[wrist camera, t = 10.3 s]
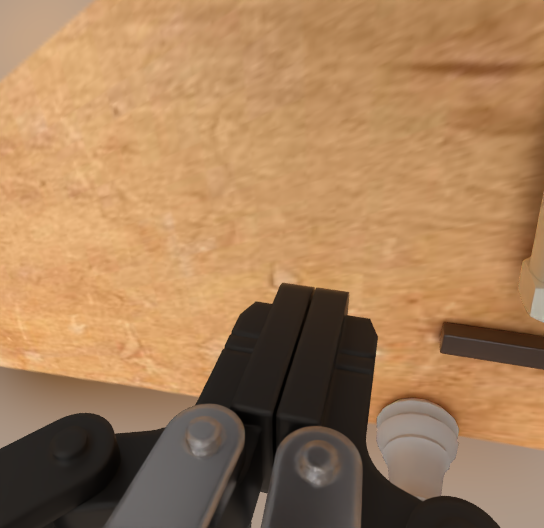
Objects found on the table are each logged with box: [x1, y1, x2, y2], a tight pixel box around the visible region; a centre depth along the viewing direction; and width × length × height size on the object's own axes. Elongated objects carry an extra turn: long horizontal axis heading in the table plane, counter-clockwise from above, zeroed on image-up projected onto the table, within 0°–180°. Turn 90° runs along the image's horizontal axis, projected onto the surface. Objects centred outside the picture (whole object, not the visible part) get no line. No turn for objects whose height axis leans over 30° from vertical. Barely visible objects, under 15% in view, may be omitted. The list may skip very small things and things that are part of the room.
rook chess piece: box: [377, 398, 459, 501], centre depth 24 cm, size 4×4×8 cm
